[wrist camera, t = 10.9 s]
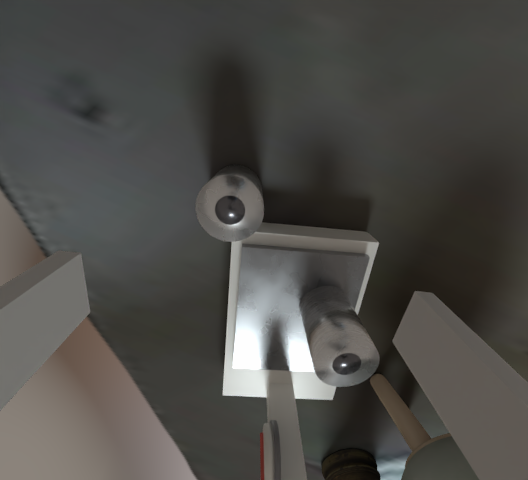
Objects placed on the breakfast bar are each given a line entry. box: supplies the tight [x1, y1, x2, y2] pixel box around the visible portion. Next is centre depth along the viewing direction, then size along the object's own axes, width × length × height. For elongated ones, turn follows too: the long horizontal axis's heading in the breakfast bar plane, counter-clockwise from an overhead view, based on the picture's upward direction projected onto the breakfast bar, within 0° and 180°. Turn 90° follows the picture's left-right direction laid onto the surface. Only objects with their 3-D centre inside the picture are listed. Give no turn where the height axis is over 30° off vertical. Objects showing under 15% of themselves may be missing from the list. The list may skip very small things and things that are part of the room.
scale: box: [223, 222, 379, 480], centre depth 25 cm, size 24×14×14 cm, turn 174°
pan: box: [233, 243, 370, 372], centre depth 27 cm, size 15×12×1 cm
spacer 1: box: [196, 165, 264, 242], centre depth 22 cm, size 5×5×7 cm
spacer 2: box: [300, 286, 380, 387], centre depth 23 cm, size 5×5×7 cm
